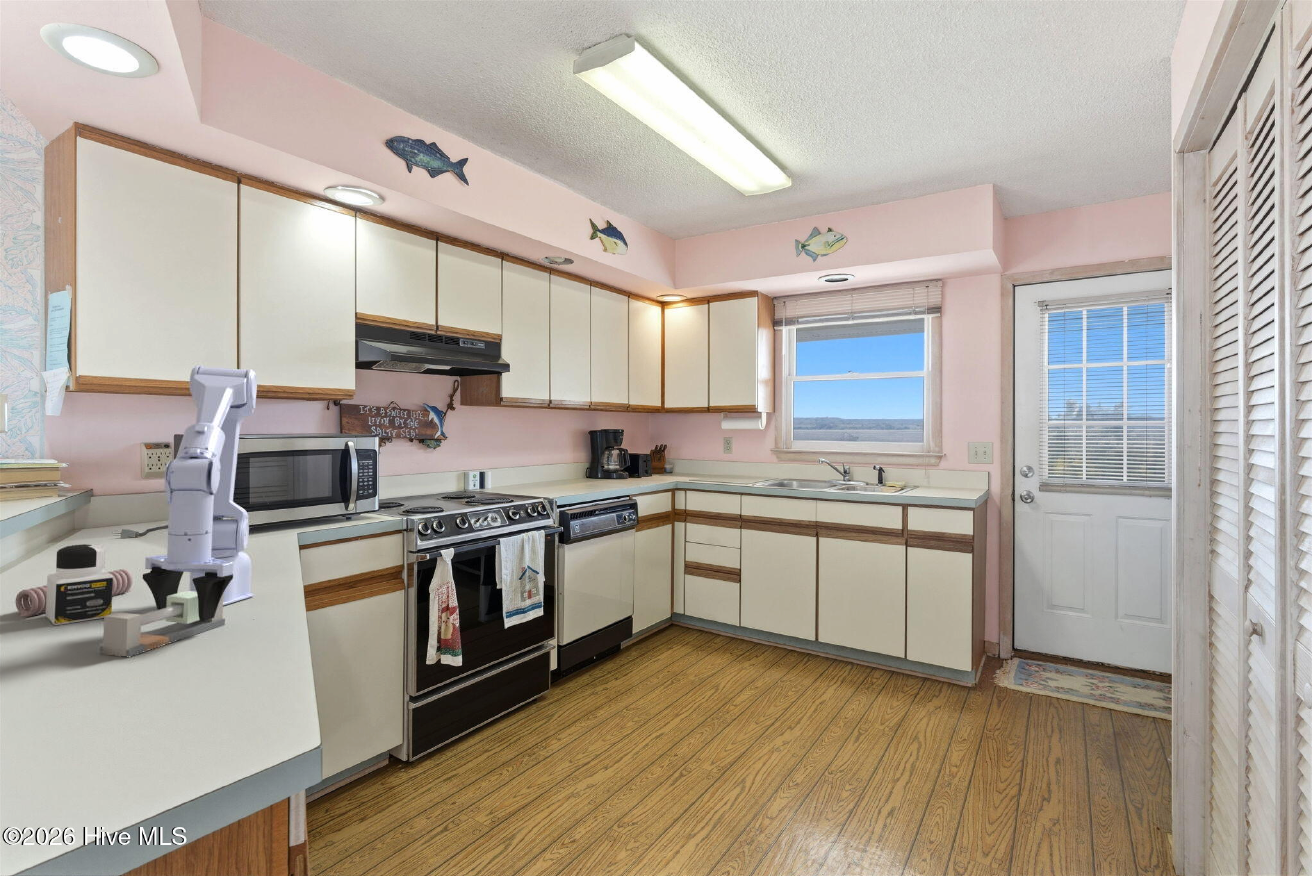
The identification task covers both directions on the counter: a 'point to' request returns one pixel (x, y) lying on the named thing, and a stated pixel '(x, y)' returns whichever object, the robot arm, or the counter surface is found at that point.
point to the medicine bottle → (79, 585)
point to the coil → (39, 594)
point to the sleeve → (189, 607)
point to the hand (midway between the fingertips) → (186, 616)
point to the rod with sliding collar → (127, 637)
